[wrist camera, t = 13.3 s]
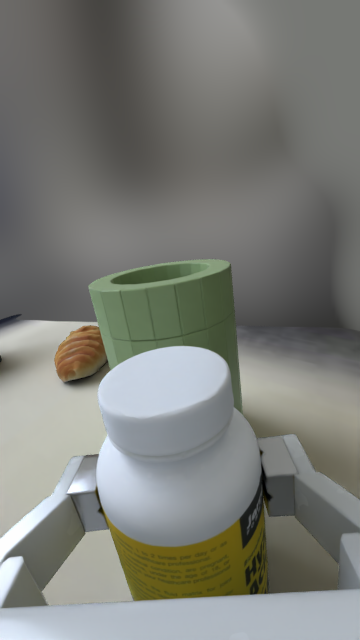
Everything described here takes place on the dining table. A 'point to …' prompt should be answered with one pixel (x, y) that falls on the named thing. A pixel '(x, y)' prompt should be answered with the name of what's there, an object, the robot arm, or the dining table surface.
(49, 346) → the dining table surface
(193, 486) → the supplement bottle
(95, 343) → the pastry
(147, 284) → the green vase
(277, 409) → the dining table surface
